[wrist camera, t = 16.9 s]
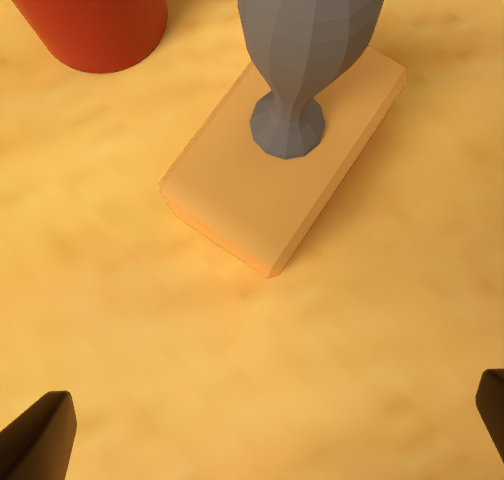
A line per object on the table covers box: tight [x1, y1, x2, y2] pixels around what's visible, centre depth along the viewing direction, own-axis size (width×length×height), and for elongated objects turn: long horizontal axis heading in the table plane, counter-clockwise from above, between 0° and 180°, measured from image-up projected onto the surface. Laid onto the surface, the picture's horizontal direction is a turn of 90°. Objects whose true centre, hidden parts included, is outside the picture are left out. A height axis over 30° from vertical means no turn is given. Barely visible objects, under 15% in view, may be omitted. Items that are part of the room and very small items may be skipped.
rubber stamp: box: [159, 0, 407, 278], centre depth 14 cm, size 10×6×12 cm, turn 146°
